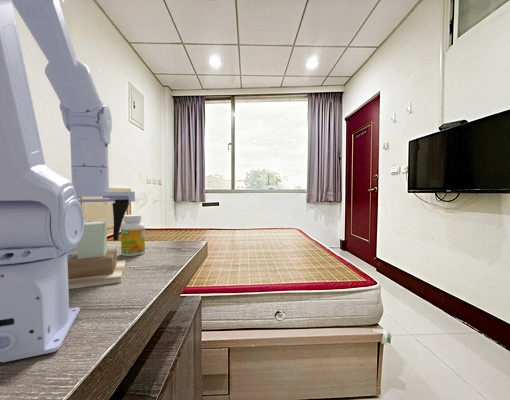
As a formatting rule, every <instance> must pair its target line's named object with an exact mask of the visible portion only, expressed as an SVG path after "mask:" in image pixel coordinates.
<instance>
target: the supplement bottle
mask: <svg viewBox="0 0 510 400" xmlns="http://www.w3.org/2000/svg"><path fill="white" fill-rule="evenodd" d="M141 221H142V214H126V215H124V217H123V222H124V223H123V224H121V227H120V249H121V250H120V253H121V255H122V256H123V257H134V256H140V255H143V254H144V253H146V252H145V251H146V239H145V238H146V237H145V233H146V230H145V224H144V223H142V222H141Z"/></svg>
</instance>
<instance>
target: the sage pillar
mask: <svg viewBox="0 0 510 400" xmlns="http://www.w3.org/2000/svg"><path fill="white" fill-rule="evenodd" d="M107 231H108V229H107V220H105V221H104V220H102V221H101V220H100V221H91V222H84V231H83V235H82V237H81V240H80V241H79V242H78V243H77V253H78V259H82V258H92V257H103V256H104V255H105V254H106V252H107V250H108V238H107V237H108V236H107V235H108V234H107V233H108V232H107Z"/></svg>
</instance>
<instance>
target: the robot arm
mask: <svg viewBox="0 0 510 400" xmlns="http://www.w3.org/2000/svg"><path fill="white" fill-rule="evenodd" d="M60 3H61V2H60V0H0V362H1V363H0V364H3V363H7V362H12V361H17V360H21V359H27V358H31V357H37V356H41V355H47V354H52V353H55V352H56V351H58V350H59V349H60V348H61V346H62V344H63V343H64V340H65V338H66V337H67V335H68V333H69V331H70V329H71V328H72V326H73V324H74V322H75V320H76V319H77V317H78V315H79V313H80V311H81V308H80V307H79V306H77V307H76V306H75V307H70V294H69V292H70V291H69V290H70V289H68V262H67V252H68V251H70V250H72V249H73V248H74V247H75V246H76V244H77V243H78V242H79V241H80V240H81V237H82V235H83V231H84V220H85V213H84V209H83V206H82V204H81V203H107V202H108V203H109V202H110V203H111V202H113V203H112V214H113V232H112V237H113V239H112V240H113V241H118V240H119V238H120V232H121V226H122V222H123V221H124V215H125V214H126V212H127V210H128V208H129V205H130V202H136V191H110V182H109V145H110V144H111V134H112V129H113V128H112V127H113V120H112V118H113V117H112V113H111V110H110V107H109V105H105V104H104V103H103V102H102V100H101V98H100V96H99V91H97V87H96V84H95V81H94V79H93V76H92V74H91V71H90V68H89V66H88V65H87V64H86V63H85V62H83V61H82V60H80V59H78V58H77V56H76V53H75V50H74V46H73V42H72V39H71V36H70V33H69V29H68V27H67V23H66V20H65V17H64V13H63V10H62V7H61V4H60ZM14 8H15V10H16V11H17V13H18V15H19V17H20V18H21V19H22V21H23V23H24V24H25V26H26V28H27V29H28V31H29V32H30V34H31V36H32V38H33V39H34V40H35V42H36V45H38V47H39V48H40V50H41V52H42V53H43V55H44V57H45V58H46V60H47V62H48V63H47V64H46V66H45V67H44V73H45V76H46V78H47V80H48V82H49V84H50V85H51V87H52V89H53V90H54V93H55V94H56V96H57V98H58V100H59V102H60V103H59V111H60V112H61V118H62V121H63V124H64V127H65V128H66V130H67V131H68V132H69V137H70V139H69V140H70V142H69V143H70V162H71V163H70V166H71V167H70V168H71V169H70V172H71V180H69V179H68V178H66V177H65V176H62V175H61V174H59V173H58V172H56V171H54V169H51V168H50V167H48V166H47V165H46V161H45V157H44V156H45V155H44V152H43V147H42V143H41V138H40V133H39V128H38V127H39V126H38V123H37V118H36V113H35V108H34V103H33V97H32V94H31V88H30V84H29V79H28V75H27V73H28V72H27V70H26V64H25V59H24V54H23V51H22V50H23V49H22V45H21V40H20V35H19V30H18V26H17V25H18V24H17V22H16V16H15V11H14ZM81 197H84V198H85V197H86V199H81ZM87 197H90V198H91V197H102V198H101V199H100V198H99V199H98V198H95V199H88V198H87ZM2 362H3V363H2Z"/></svg>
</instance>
